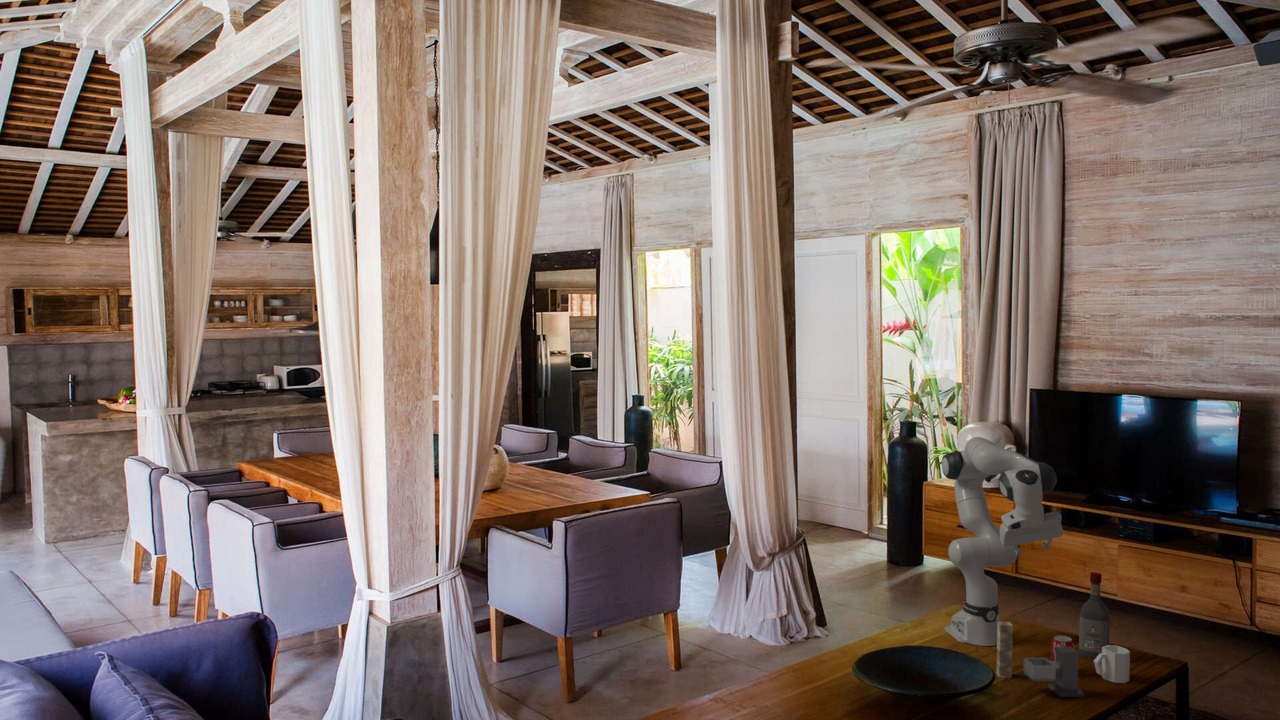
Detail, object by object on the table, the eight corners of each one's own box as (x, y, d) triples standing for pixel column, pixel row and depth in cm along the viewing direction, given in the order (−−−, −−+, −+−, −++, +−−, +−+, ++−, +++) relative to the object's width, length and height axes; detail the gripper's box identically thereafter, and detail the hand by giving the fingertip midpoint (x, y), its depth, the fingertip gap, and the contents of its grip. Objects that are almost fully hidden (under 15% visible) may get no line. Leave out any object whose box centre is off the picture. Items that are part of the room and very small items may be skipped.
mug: (1116, 672, 324) (1117, 644, 324) (1135, 682, 316) (1135, 653, 315) (1086, 675, 321) (1087, 647, 321) (1104, 685, 313) (1105, 656, 312)
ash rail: (999, 677, 319) (1000, 625, 318) (996, 673, 323) (997, 621, 322) (1011, 678, 319) (1012, 625, 318) (1008, 673, 323) (1009, 621, 322)
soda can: (1075, 677, 320) (1076, 642, 319) (1053, 675, 321) (1054, 640, 321) (1070, 669, 327) (1071, 635, 326) (1048, 667, 328) (1049, 633, 327)
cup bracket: (1033, 697, 303) (1034, 654, 302) (1022, 687, 311) (1023, 645, 310) (1084, 696, 304) (1085, 654, 303) (1072, 686, 312) (1073, 645, 311)
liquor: (1106, 662, 333) (1108, 578, 332) (1078, 657, 338) (1080, 574, 336) (1109, 654, 341) (1111, 572, 339) (1081, 649, 346) (1083, 568, 344)
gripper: (1057, 505, 319) (1059, 540, 324) (996, 517, 321) (999, 551, 325) (1065, 515, 313) (1067, 550, 318) (1003, 527, 315) (1006, 561, 320)
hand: (1032, 550), depth 322 cm, fingers open, 8 cm apart
